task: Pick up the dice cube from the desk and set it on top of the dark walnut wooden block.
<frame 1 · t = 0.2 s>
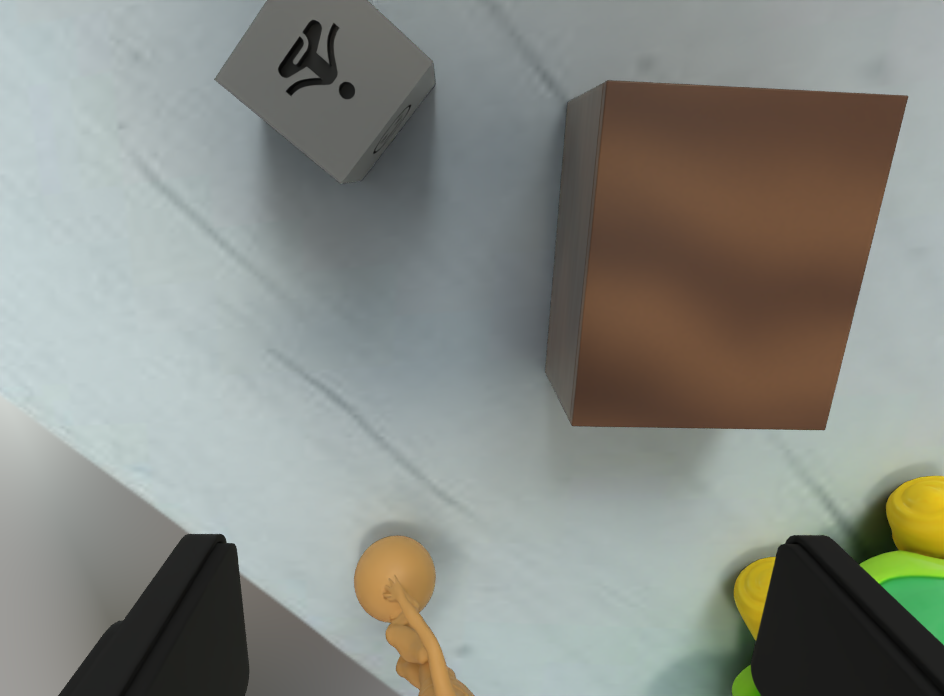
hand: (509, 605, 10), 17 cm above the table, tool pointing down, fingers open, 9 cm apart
figurine: (417, 545, 30), on the table
walnut block: (664, 250, 26), on the table
turtle toy: (826, 634, 33), on the table
dice cube: (349, 91, 23), on the table
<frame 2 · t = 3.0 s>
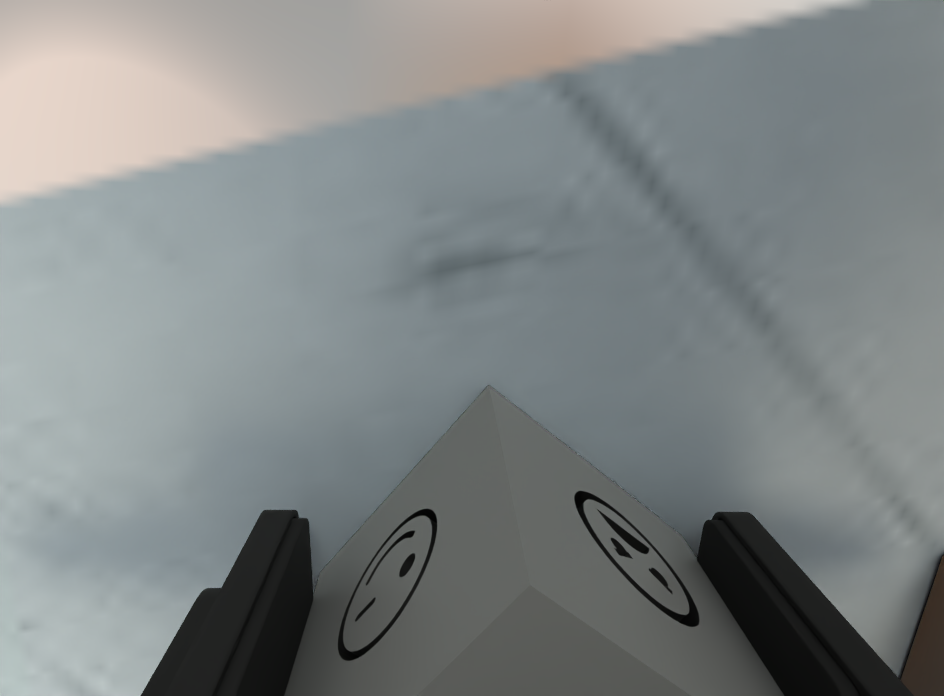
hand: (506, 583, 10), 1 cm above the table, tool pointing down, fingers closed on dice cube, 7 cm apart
dice cube: (501, 547, 11), on the table, touching gripper
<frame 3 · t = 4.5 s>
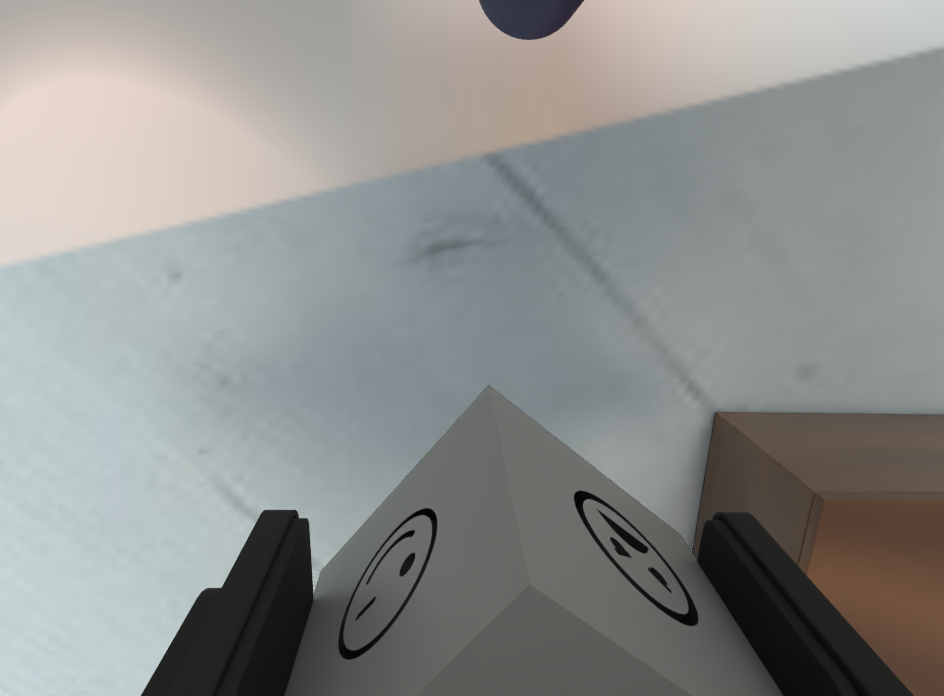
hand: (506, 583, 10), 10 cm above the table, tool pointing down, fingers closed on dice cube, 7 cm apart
walnut block: (814, 553, 22), on the table
dice cube: (501, 546, 11), point 9 cm above the table, touching gripper
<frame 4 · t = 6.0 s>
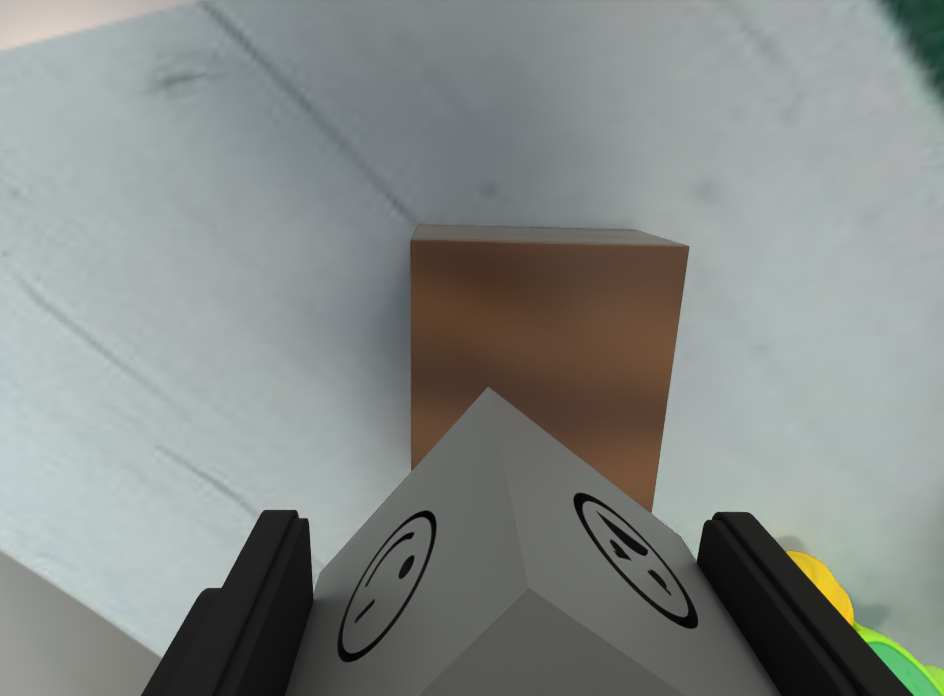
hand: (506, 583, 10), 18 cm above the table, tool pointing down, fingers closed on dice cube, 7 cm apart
walnut block: (520, 352, 27), on the table
turtle toy: (709, 692, 35), on the table
dice cube: (500, 548, 11), point 17 cm above the table, touching gripper
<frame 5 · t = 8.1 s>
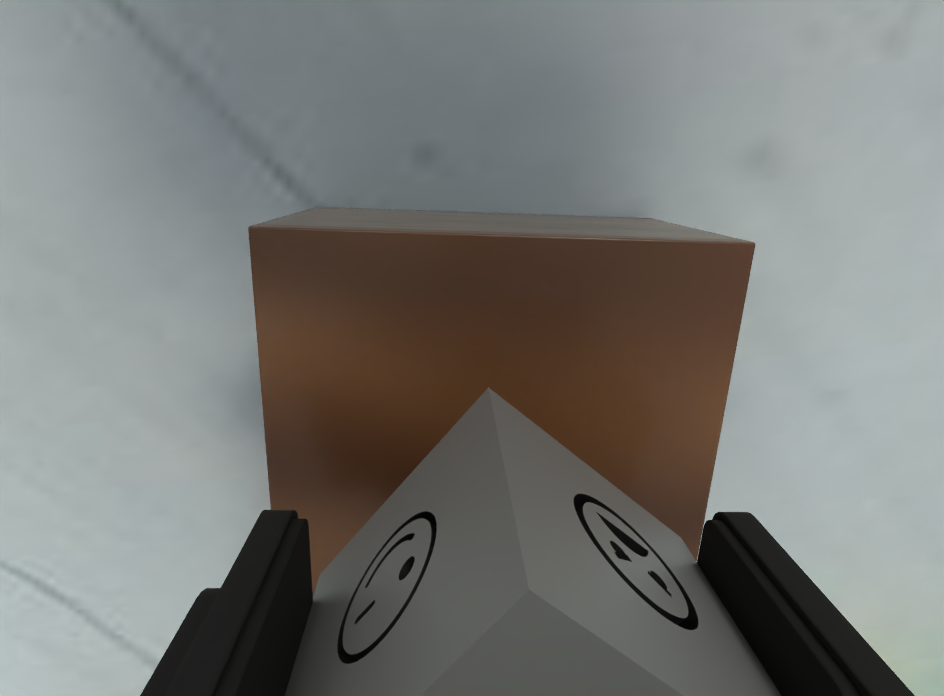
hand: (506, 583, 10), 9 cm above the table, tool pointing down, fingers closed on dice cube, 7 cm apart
walnut block: (478, 399, 19), on the table
dice cube: (500, 549, 11), point 8 cm above the table, touching gripper
when the fingers open (7 cm above the table, at t = 9.3 s): dice cube stays where it is, resting on walnut block.
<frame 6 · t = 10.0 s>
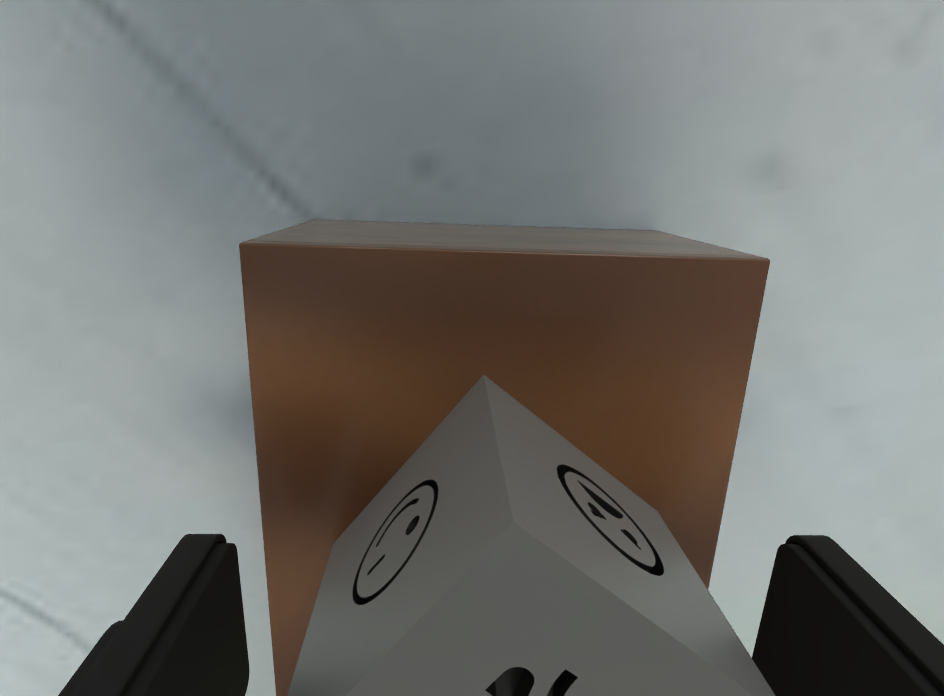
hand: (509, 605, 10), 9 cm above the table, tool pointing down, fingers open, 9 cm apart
walnut block: (479, 416, 18), on the table
dice cube: (495, 522, 12), point 6 cm above the table, touching walnut block
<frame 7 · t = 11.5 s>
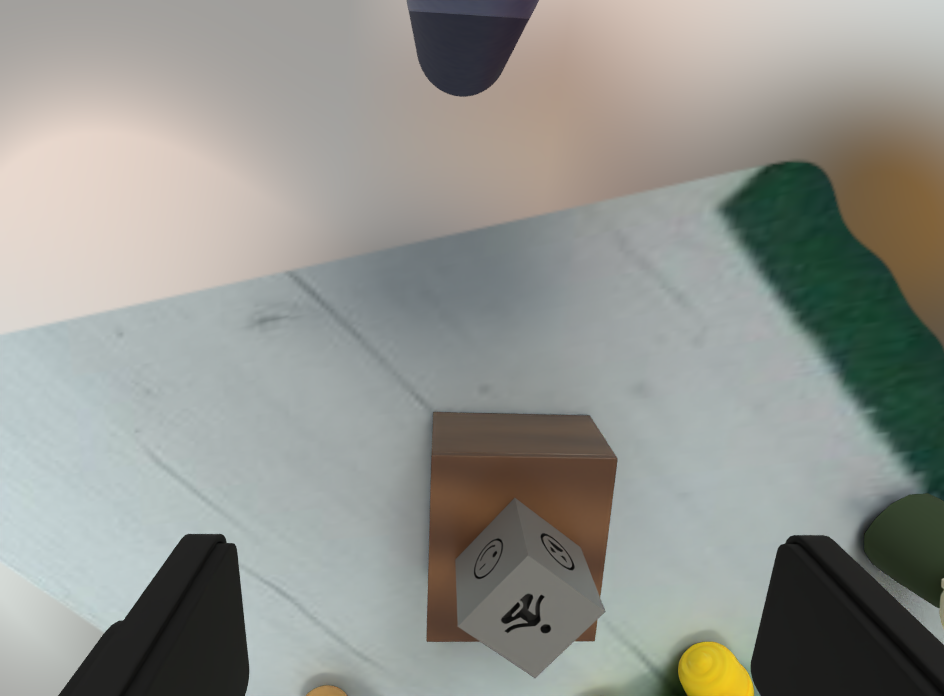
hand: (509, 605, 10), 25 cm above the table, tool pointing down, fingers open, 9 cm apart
figurine: (343, 688, 41), on the table
walnut block: (506, 497, 37), on the table
dice cube: (517, 551, 32), point 6 cm above the table, touching walnut block
character mug: (898, 526, 40), on the table
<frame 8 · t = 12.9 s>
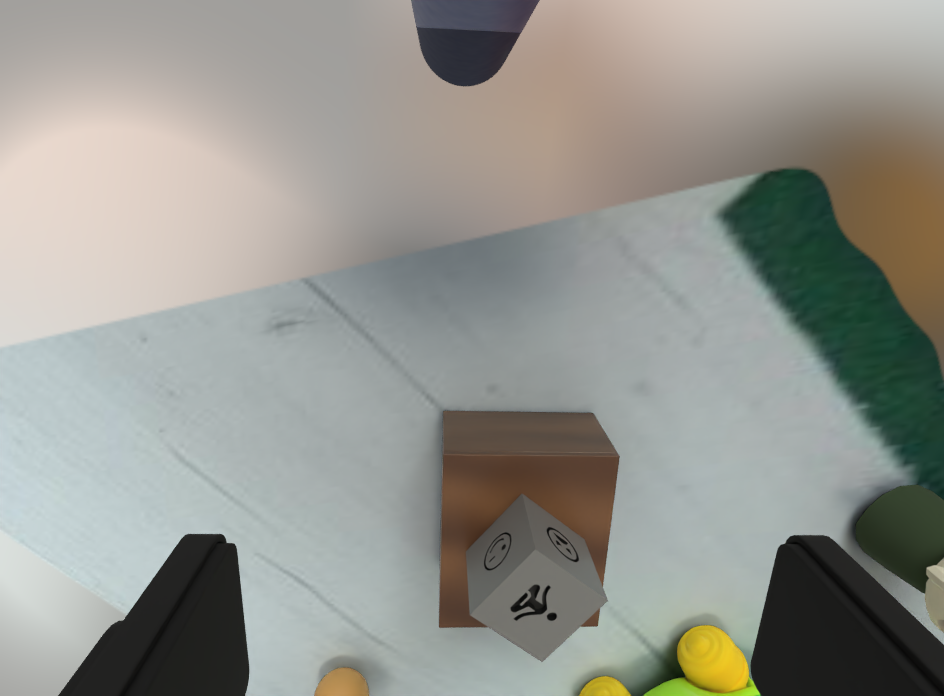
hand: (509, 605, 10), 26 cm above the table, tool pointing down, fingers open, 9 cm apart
figurine: (359, 670, 44), on the table
walnut block: (513, 491, 39), on the table
dice cube: (524, 543, 34), point 6 cm above the table, touching walnut block
character mug: (889, 515, 42), on the table
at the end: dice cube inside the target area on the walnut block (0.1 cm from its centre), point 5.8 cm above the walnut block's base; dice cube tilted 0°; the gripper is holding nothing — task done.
